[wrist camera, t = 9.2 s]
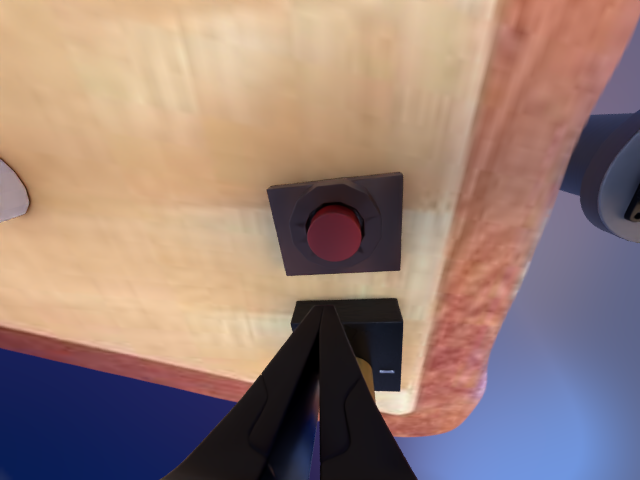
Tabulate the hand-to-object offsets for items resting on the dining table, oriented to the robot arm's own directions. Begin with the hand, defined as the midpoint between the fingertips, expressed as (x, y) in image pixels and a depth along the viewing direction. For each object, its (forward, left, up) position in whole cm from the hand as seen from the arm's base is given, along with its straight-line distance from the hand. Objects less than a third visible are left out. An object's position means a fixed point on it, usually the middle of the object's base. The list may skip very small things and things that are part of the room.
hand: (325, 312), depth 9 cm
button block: (0, +1, -11) cm, 11 cm away
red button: (0, 0, -8) cm, 8 cm away
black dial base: (0, +14, -11) cm, 18 cm away
